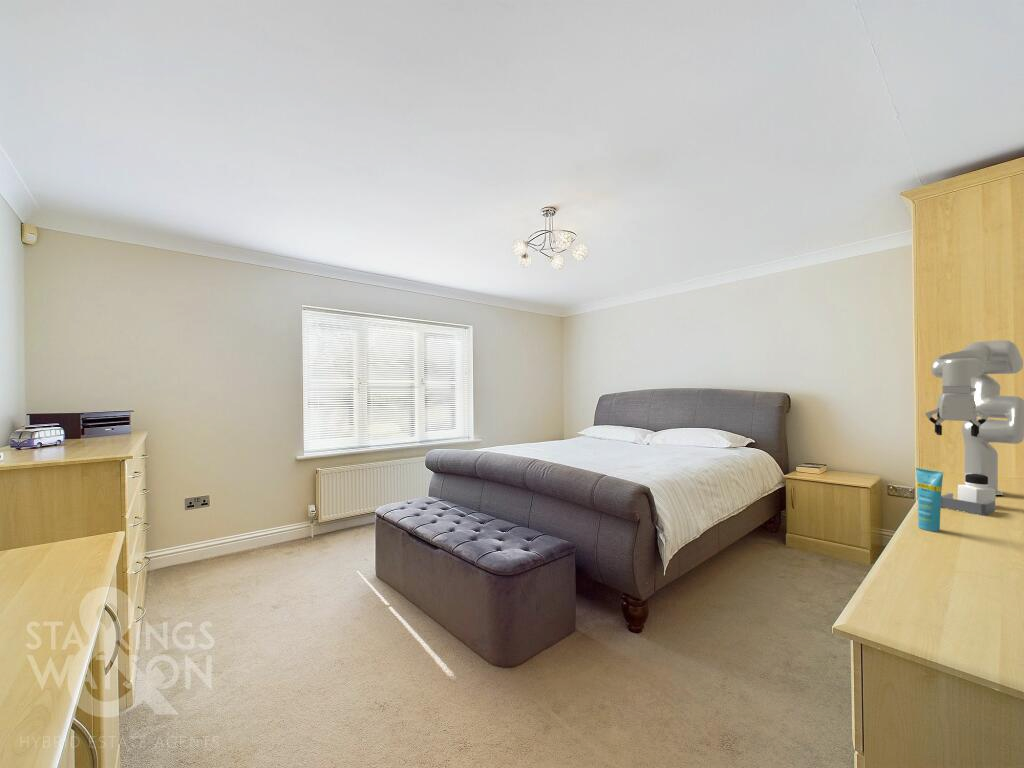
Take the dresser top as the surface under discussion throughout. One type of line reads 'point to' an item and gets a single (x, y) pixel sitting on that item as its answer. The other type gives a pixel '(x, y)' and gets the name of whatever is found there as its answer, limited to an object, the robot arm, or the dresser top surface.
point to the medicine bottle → (976, 489)
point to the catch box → (967, 505)
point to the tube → (929, 499)
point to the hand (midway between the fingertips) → (956, 435)
